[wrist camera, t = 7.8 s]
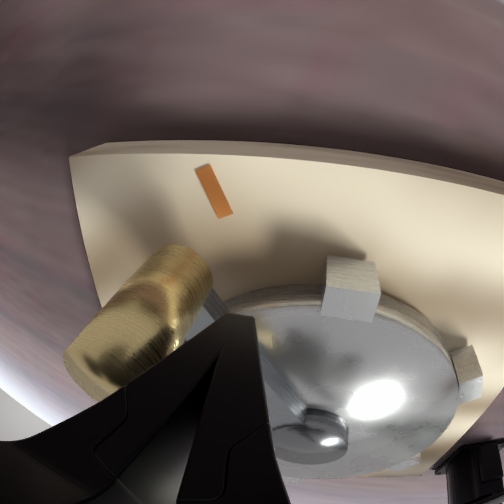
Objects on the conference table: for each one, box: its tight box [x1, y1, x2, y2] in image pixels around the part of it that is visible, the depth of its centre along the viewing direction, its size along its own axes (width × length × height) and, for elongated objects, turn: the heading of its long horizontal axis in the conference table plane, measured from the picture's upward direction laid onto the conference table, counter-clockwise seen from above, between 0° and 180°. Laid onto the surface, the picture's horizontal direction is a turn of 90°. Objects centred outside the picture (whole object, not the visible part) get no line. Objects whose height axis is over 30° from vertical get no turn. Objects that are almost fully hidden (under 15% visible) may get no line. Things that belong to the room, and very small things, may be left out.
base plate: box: [69, 140, 504, 477], centre depth 17 cm, size 24×24×3 cm
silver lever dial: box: [63, 244, 483, 484], centre depth 12 cm, size 19×16×7 cm
